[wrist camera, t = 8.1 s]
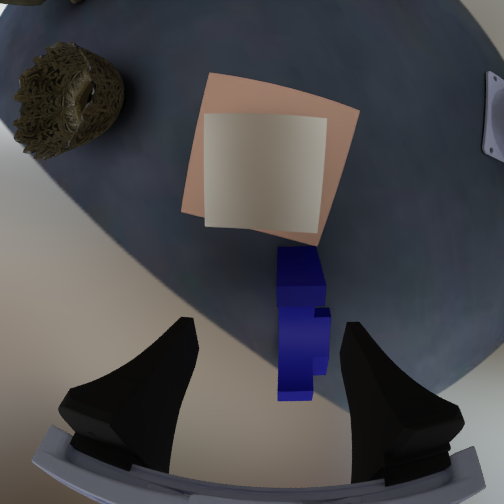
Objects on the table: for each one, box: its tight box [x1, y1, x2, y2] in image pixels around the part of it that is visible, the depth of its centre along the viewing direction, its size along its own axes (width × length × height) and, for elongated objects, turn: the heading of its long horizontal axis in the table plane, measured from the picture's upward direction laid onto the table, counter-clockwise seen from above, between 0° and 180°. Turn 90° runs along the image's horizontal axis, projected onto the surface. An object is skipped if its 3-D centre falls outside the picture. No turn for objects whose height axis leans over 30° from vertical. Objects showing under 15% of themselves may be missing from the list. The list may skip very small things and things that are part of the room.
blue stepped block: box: [277, 246, 331, 401], centre depth 21 cm, size 12×4×6 cm, turn 4°
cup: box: [13, 42, 126, 160], centre depth 14 cm, size 7×7×8 cm
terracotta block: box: [181, 73, 360, 246], centre depth 17 cm, size 9×9×4 cm
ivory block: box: [204, 113, 327, 233], centre depth 13 cm, size 4×4×6 cm
